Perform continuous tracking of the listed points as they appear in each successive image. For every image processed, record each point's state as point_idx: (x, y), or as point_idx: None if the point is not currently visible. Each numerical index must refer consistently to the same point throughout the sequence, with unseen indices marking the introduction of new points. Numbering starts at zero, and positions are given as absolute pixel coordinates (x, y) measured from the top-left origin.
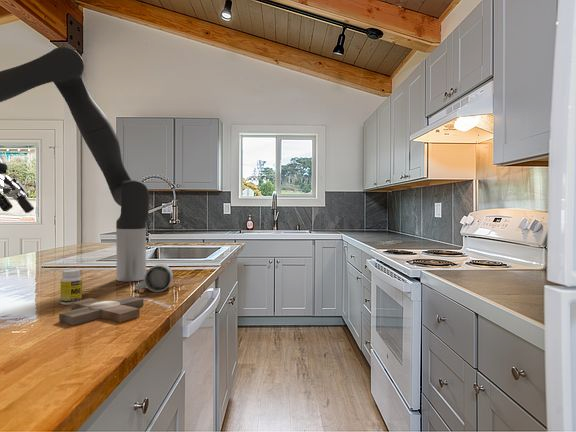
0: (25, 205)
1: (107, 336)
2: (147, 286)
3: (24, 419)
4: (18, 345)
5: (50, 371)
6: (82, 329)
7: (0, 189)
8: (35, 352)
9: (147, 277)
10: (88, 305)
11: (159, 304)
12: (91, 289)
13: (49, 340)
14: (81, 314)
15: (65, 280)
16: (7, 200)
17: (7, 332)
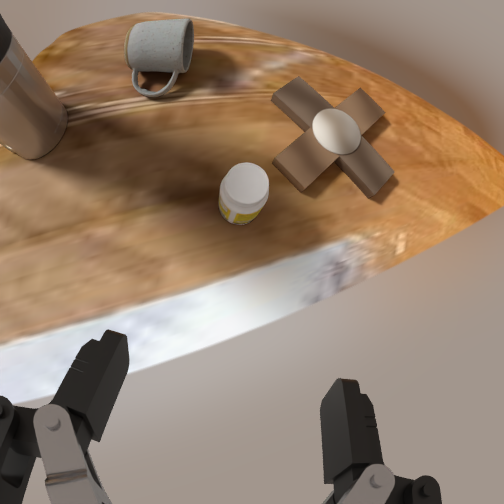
0: (111, 385)
1: (424, 135)
2: (185, 70)
3: None
4: (442, 226)
5: (485, 180)
6: (402, 162)
7: (364, 502)
8: (458, 202)
9: (160, 63)
10: (332, 155)
11: (290, 63)
12: (113, 191)
13: (432, 195)
14: (383, 161)
15: (266, 198)
16: (358, 416)
17: (401, 258)
